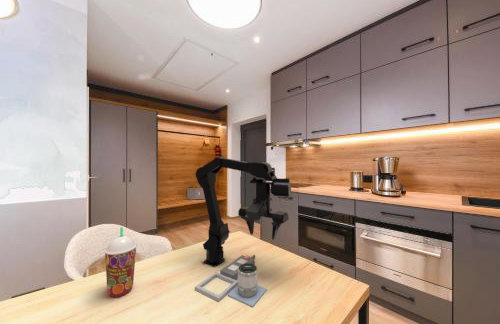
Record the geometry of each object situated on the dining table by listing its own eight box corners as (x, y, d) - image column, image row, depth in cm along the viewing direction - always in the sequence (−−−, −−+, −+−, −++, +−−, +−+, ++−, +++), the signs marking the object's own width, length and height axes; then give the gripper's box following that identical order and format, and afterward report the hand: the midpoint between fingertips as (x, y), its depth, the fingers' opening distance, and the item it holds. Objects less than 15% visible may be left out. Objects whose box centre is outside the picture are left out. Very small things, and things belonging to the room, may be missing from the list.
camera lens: (258, 297, 59) (259, 271, 59) (237, 299, 58) (238, 272, 58) (256, 284, 65) (256, 261, 65) (237, 285, 64) (237, 261, 64)
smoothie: (101, 304, 56) (102, 233, 56) (106, 287, 63) (107, 225, 63) (135, 295, 60) (136, 229, 60) (136, 280, 67) (137, 222, 67)
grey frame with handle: (194, 289, 62) (194, 281, 62) (244, 254, 87) (244, 248, 87) (218, 301, 57) (218, 292, 57) (264, 260, 82) (264, 254, 82)
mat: (227, 295, 60) (227, 294, 60) (243, 280, 68) (243, 279, 68) (252, 307, 55) (252, 306, 55) (267, 290, 63) (267, 288, 63)
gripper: (229, 196, 72) (229, 238, 72) (276, 201, 62) (276, 251, 62) (246, 192, 81) (245, 230, 81) (289, 196, 71) (288, 239, 71)
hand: (262, 237), depth 74 cm, fingers open, 9 cm apart
